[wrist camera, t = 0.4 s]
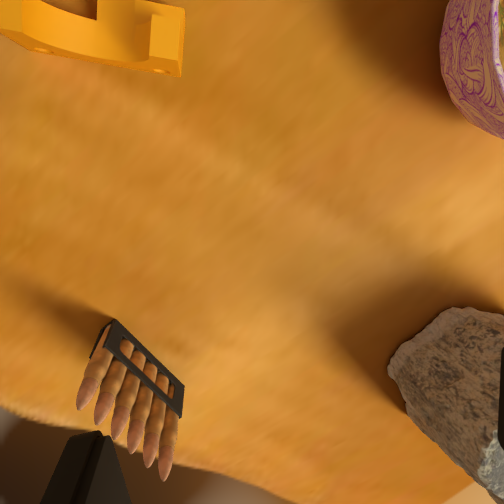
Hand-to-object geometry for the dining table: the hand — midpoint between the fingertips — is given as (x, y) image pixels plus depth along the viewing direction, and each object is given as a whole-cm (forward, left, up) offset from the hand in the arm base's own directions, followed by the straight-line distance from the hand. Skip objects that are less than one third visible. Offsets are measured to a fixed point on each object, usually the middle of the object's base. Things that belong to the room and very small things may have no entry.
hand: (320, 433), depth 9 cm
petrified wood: (+15, +30, -29) cm, 44 cm away
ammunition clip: (+15, -7, -29) cm, 33 cm away
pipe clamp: (-14, -11, -29) cm, 34 cm away
